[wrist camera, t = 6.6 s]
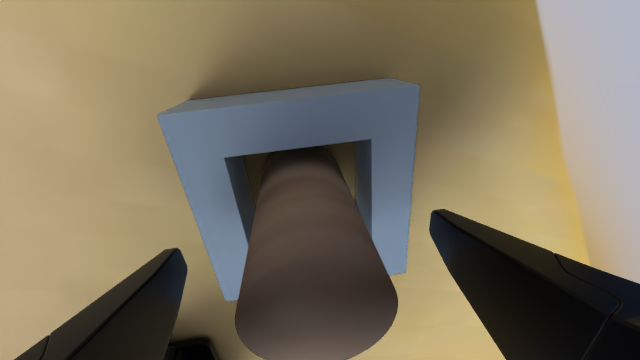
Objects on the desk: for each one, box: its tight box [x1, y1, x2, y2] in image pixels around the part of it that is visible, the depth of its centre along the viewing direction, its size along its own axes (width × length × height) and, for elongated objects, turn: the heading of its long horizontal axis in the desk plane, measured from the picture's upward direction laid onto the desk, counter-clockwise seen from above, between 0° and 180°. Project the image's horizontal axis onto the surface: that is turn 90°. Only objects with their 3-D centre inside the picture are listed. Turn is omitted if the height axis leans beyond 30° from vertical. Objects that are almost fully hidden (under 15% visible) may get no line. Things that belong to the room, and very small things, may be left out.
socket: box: [157, 78, 420, 301], centre depth 12 cm, size 9×9×3 cm
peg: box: [235, 146, 398, 360], centre depth 10 cm, size 4×4×8 cm
